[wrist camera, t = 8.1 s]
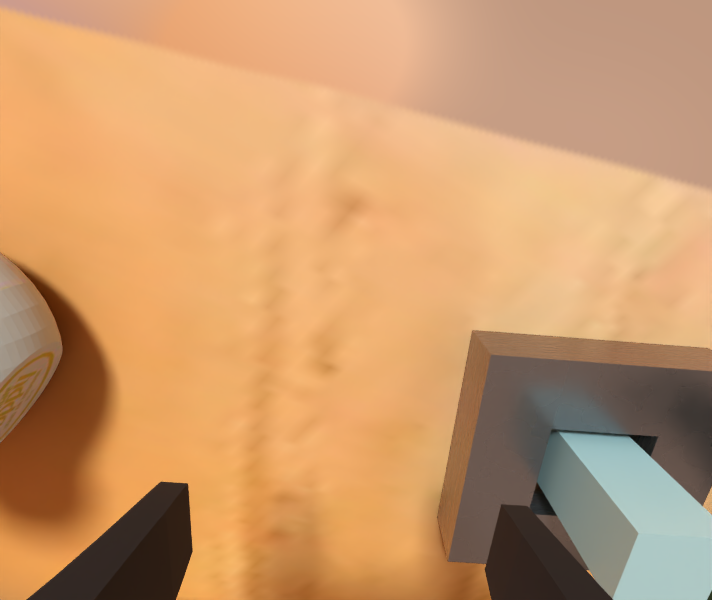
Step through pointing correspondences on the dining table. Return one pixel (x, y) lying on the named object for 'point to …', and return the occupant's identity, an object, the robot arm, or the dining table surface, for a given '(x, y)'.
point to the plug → (628, 517)
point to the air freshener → (23, 345)
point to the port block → (566, 423)
